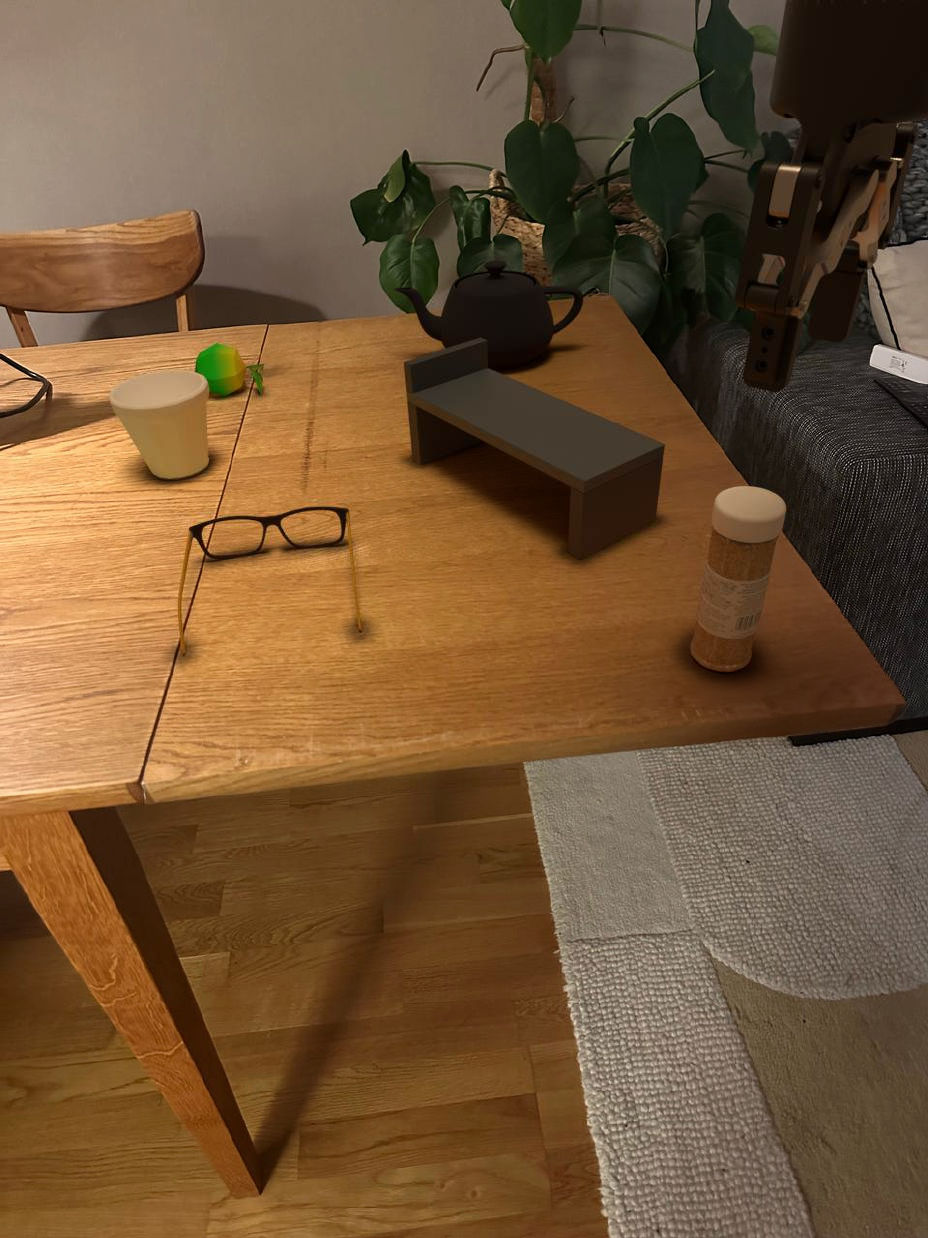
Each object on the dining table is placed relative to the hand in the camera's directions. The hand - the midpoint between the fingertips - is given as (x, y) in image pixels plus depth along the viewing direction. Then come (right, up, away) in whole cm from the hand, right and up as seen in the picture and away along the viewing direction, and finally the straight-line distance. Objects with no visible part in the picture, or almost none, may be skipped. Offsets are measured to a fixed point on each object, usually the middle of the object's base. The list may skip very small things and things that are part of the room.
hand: (797, 361), depth 44 cm
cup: (-49, +3, +46) cm, 67 cm away
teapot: (-14, +22, +68) cm, 73 cm away
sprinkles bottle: (+1, -17, +18) cm, 24 cm away
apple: (-48, +16, +62) cm, 80 cm away
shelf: (-12, 0, +39) cm, 41 cm away
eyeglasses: (-34, -12, +27) cm, 45 cm away
